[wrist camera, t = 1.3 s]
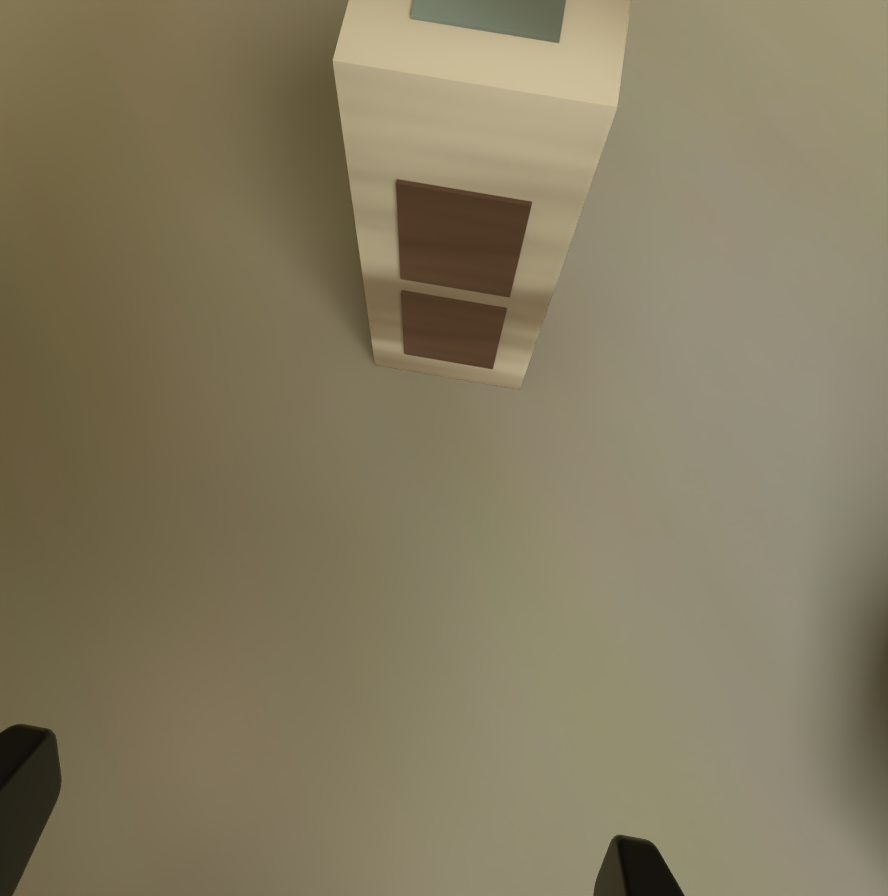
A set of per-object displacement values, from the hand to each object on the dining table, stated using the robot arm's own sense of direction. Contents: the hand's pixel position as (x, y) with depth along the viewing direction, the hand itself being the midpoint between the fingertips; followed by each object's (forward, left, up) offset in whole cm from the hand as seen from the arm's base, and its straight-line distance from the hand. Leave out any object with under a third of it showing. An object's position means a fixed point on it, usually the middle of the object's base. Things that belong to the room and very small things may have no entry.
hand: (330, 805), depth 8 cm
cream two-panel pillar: (+11, +5, -13) cm, 18 cm away
